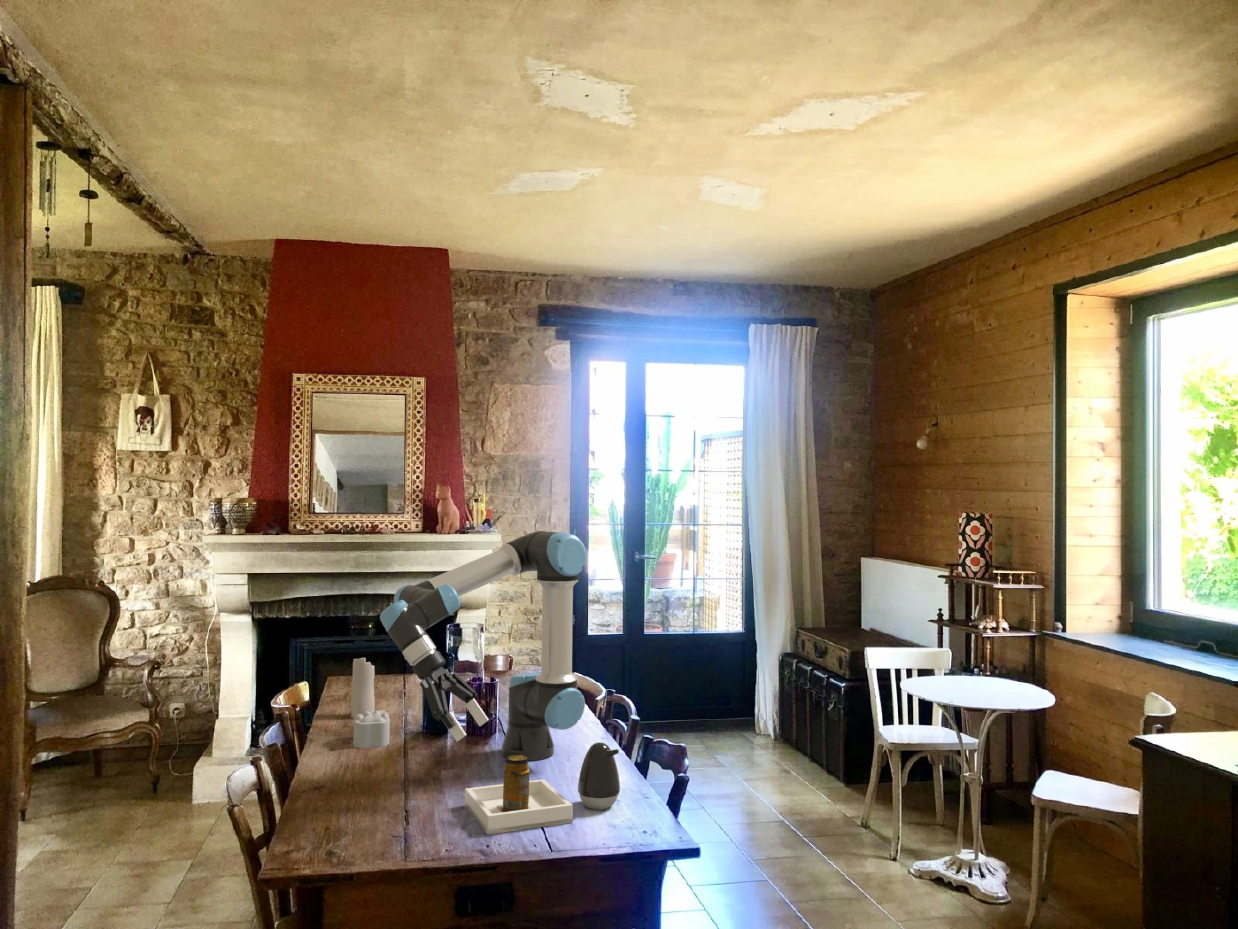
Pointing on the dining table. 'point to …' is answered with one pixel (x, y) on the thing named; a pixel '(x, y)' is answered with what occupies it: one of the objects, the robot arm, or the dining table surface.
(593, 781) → the pump dispenser
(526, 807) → the condiment
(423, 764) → the dining table surface
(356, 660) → the candle
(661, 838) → the dining table surface
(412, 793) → the dining table surface
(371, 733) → the lumpy-topped squat cylinder
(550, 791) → the tray
